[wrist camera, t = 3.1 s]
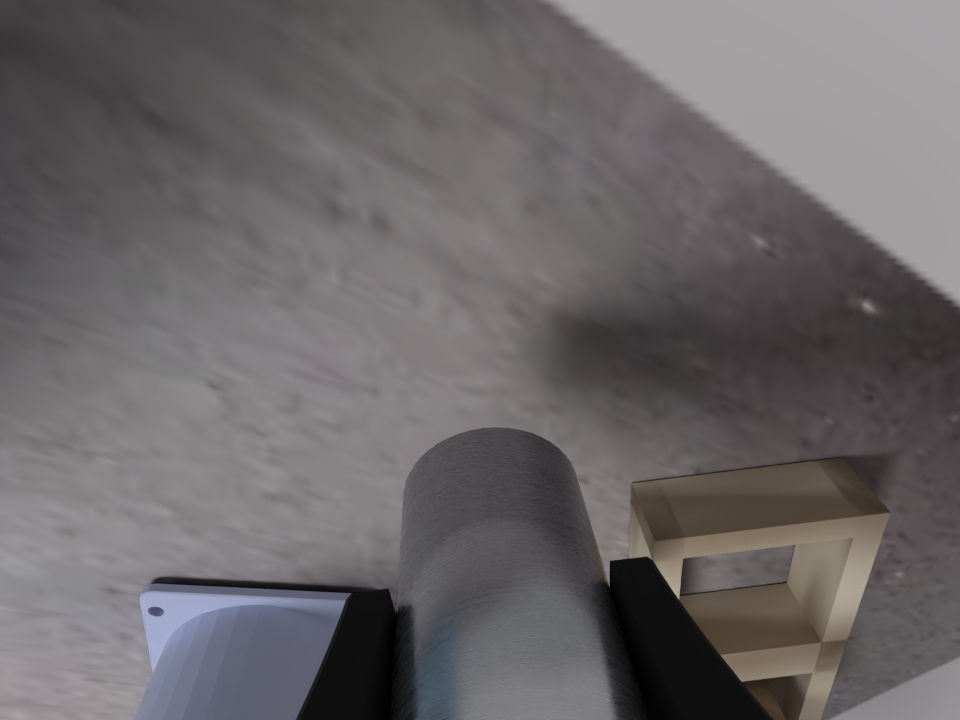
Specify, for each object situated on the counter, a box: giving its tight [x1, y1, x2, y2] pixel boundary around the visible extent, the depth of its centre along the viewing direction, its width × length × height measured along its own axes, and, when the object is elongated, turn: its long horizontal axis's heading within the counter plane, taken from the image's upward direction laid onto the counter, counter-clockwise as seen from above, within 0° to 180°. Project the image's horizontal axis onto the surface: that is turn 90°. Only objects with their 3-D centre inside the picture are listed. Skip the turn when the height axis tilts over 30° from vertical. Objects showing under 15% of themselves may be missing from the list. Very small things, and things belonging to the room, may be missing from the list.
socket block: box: [629, 458, 890, 720], centre depth 21 cm, size 14×7×6 cm, turn 6°
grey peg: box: [389, 428, 649, 720], centre depth 9 cm, size 4×4×8 cm
